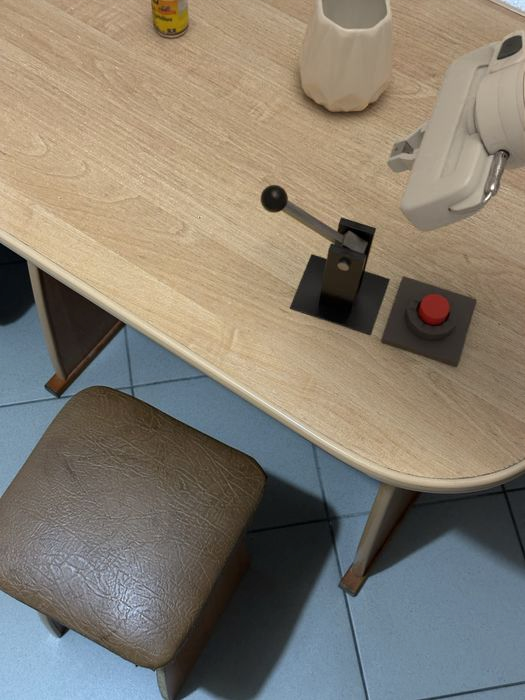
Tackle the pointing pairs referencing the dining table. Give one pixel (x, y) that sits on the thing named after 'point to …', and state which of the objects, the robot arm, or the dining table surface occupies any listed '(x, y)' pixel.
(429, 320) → the button
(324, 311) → the switch bracket
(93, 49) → the dining table surface
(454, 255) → the dining table surface
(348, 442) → the dining table surface
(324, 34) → the vase
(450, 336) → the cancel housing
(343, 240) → the switch lever
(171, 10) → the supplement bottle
